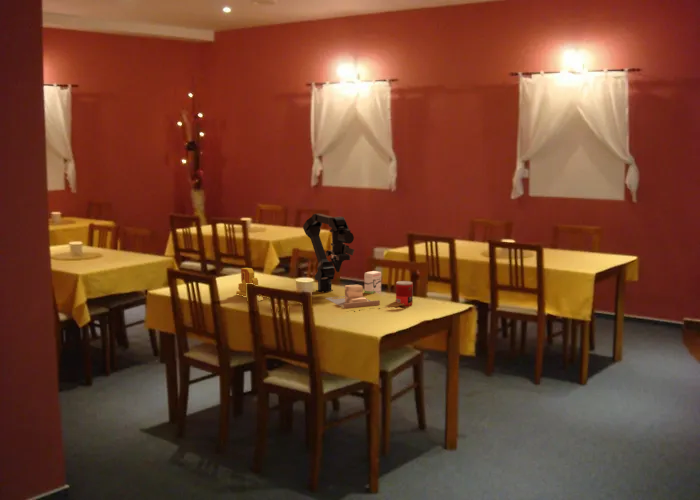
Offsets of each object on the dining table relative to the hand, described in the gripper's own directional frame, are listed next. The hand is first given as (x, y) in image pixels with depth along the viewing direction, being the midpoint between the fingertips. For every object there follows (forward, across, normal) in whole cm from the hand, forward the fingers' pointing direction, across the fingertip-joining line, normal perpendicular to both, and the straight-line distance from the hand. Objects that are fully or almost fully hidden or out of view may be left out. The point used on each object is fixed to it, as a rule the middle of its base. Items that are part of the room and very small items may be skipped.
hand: (337, 271), depth 384 cm
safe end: (+12, -32, +2) cm, 34 cm away
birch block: (+10, -28, +2) cm, 30 cm away
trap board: (+12, -20, +3) cm, 23 cm away
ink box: (+12, -7, -16) cm, 22 cm away
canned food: (+12, -35, -20) cm, 42 cm away
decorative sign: (+12, +12, +43) cm, 46 cm away
